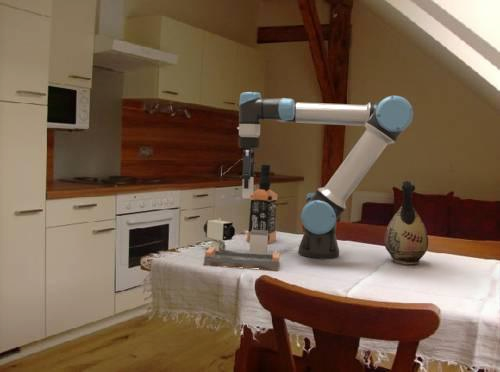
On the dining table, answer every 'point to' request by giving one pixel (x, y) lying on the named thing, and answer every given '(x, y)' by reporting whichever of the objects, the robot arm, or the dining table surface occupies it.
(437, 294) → the dining table surface
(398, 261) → the ceramic jug
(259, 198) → the whiskey bottle
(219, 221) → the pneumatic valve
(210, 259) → the rail board
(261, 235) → the din module
